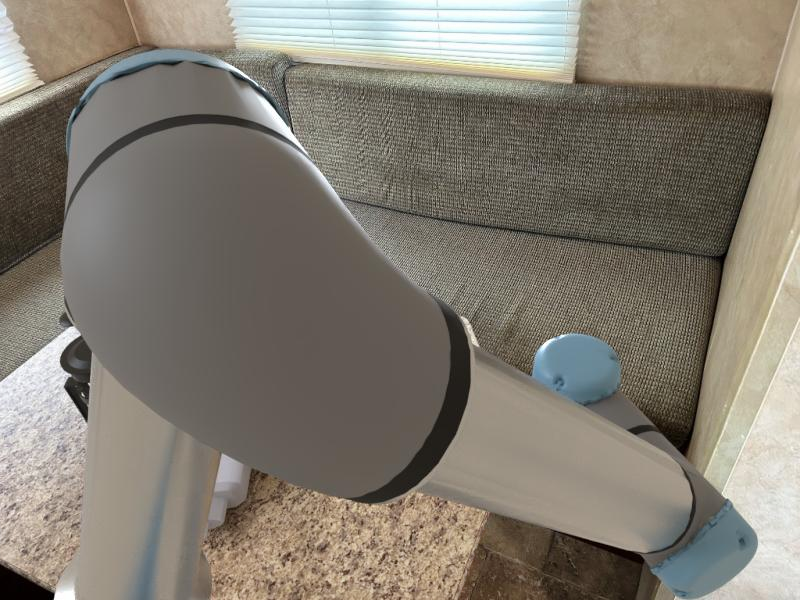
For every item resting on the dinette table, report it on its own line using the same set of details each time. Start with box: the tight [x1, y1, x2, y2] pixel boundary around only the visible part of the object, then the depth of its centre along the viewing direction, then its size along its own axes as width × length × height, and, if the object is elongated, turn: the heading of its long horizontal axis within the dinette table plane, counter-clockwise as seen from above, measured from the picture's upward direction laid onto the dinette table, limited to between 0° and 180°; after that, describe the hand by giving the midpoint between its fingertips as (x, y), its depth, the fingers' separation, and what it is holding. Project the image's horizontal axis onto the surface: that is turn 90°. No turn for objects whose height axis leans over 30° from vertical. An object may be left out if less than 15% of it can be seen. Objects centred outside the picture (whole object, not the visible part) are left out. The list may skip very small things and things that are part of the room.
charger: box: [203, 454, 252, 542], centre depth 78 cm, size 5×9×15 cm
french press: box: [58, 311, 92, 424], centre depth 82 cm, size 12×9×23 cm
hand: (312, 382), depth 75 cm, fingers open, 13 cm apart
